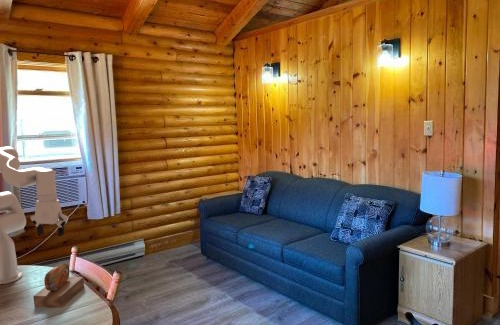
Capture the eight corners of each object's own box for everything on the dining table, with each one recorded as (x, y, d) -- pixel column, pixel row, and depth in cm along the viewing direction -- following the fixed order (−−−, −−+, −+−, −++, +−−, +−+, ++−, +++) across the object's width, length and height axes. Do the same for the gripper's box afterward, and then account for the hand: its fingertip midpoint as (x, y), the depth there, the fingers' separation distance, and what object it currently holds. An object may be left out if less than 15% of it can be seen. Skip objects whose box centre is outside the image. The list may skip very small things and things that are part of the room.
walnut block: (34, 307, 166) (33, 296, 165) (59, 287, 184) (58, 277, 183) (62, 307, 165) (60, 296, 164) (84, 287, 182) (83, 277, 182)
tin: (51, 294, 166) (49, 274, 165) (44, 294, 166) (41, 274, 165) (70, 278, 181) (68, 260, 180) (64, 278, 181) (62, 260, 180)
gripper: (23, 199, 173) (27, 237, 176) (61, 200, 171) (64, 238, 174) (34, 195, 180) (38, 231, 183) (70, 195, 178) (74, 232, 181)
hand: (51, 235), depth 178 cm, fingers open, 9 cm apart
